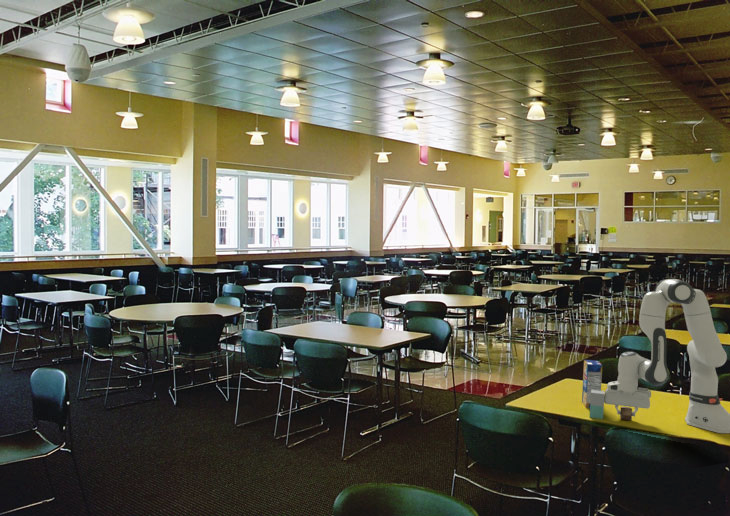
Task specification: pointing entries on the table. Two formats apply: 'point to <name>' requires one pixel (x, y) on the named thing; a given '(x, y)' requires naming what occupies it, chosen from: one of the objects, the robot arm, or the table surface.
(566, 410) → the table surface
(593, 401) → the tower top
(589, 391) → the beverage box
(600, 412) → the tower base
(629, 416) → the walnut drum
